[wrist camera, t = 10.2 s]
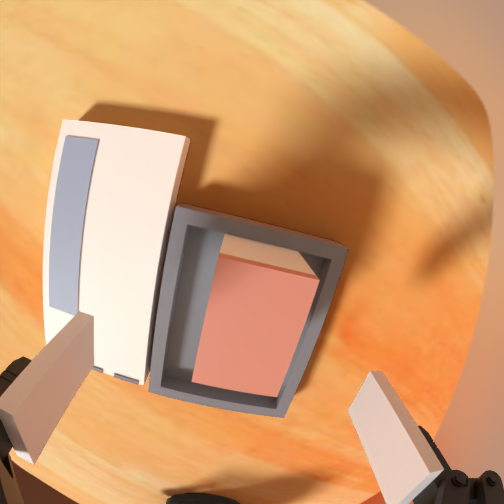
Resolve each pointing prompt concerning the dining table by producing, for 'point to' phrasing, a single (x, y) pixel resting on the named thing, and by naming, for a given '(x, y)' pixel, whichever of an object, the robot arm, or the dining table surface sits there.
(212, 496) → the mug
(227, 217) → the tray
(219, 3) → the dining table surface
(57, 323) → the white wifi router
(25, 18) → the dining table surface
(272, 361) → the block
